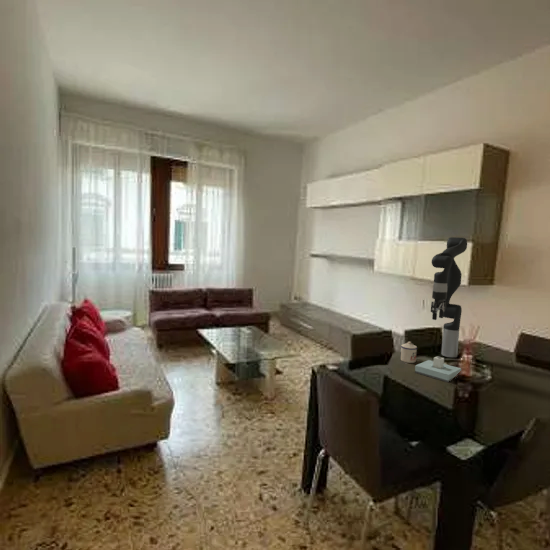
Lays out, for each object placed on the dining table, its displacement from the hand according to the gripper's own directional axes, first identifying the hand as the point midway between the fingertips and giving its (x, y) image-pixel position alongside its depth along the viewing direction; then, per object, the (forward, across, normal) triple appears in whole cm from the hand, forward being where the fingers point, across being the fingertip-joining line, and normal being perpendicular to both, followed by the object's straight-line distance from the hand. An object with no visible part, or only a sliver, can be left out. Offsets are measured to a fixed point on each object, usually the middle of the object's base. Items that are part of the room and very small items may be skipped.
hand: (437, 318), depth 213 cm
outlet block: (+28, +11, +7) cm, 31 cm away
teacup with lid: (+28, +1, -15) cm, 32 cm away
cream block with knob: (+27, +11, +7) cm, 30 cm away
